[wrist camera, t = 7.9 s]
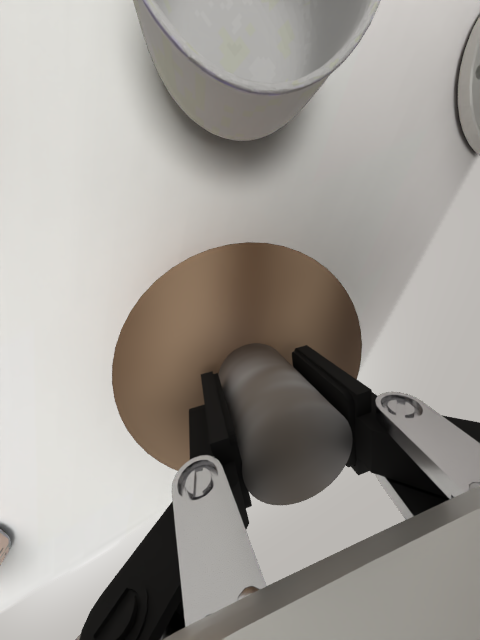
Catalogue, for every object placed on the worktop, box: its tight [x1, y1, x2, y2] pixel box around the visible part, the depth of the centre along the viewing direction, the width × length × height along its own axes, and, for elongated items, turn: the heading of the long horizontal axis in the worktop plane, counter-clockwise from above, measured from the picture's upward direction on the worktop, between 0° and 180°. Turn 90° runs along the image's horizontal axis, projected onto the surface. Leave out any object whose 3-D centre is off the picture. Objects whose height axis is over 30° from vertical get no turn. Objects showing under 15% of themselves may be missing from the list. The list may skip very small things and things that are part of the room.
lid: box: [112, 243, 362, 505], centre depth 9 cm, size 13×13×6 cm
